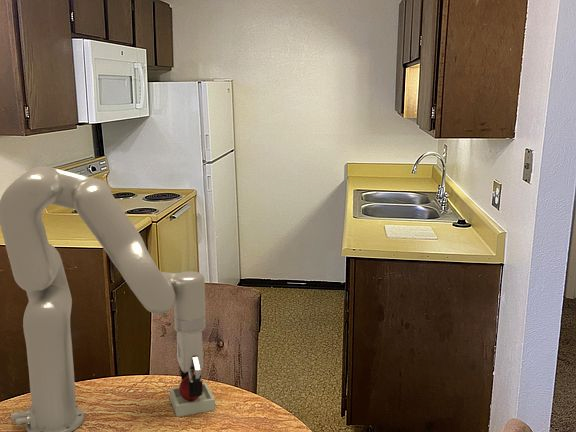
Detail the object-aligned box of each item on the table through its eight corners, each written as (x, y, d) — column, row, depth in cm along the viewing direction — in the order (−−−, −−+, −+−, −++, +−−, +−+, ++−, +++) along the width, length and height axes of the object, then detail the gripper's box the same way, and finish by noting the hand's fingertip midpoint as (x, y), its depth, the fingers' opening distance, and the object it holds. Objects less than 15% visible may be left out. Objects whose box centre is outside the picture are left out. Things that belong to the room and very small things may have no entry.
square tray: (176, 417, 137) (176, 406, 136) (169, 398, 145) (169, 388, 145) (215, 409, 140) (215, 399, 139) (206, 392, 149) (206, 382, 148)
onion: (191, 409, 138) (189, 378, 137) (175, 403, 142) (173, 373, 141) (208, 400, 143) (206, 370, 142) (192, 394, 146) (190, 365, 145)
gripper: (168, 312, 145) (170, 374, 148) (181, 337, 129) (183, 406, 133) (197, 309, 148) (198, 370, 151) (213, 332, 132) (214, 400, 135)
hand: (191, 387), depth 142 cm, fingers open, 9 cm apart
